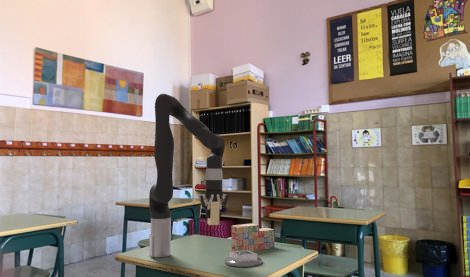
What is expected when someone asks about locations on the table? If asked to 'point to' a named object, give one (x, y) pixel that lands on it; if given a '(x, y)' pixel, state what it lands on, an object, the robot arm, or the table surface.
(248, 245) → the stack of blocks
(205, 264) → the table surface
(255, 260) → the gray round dish
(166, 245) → the robot arm
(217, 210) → the wooden block
